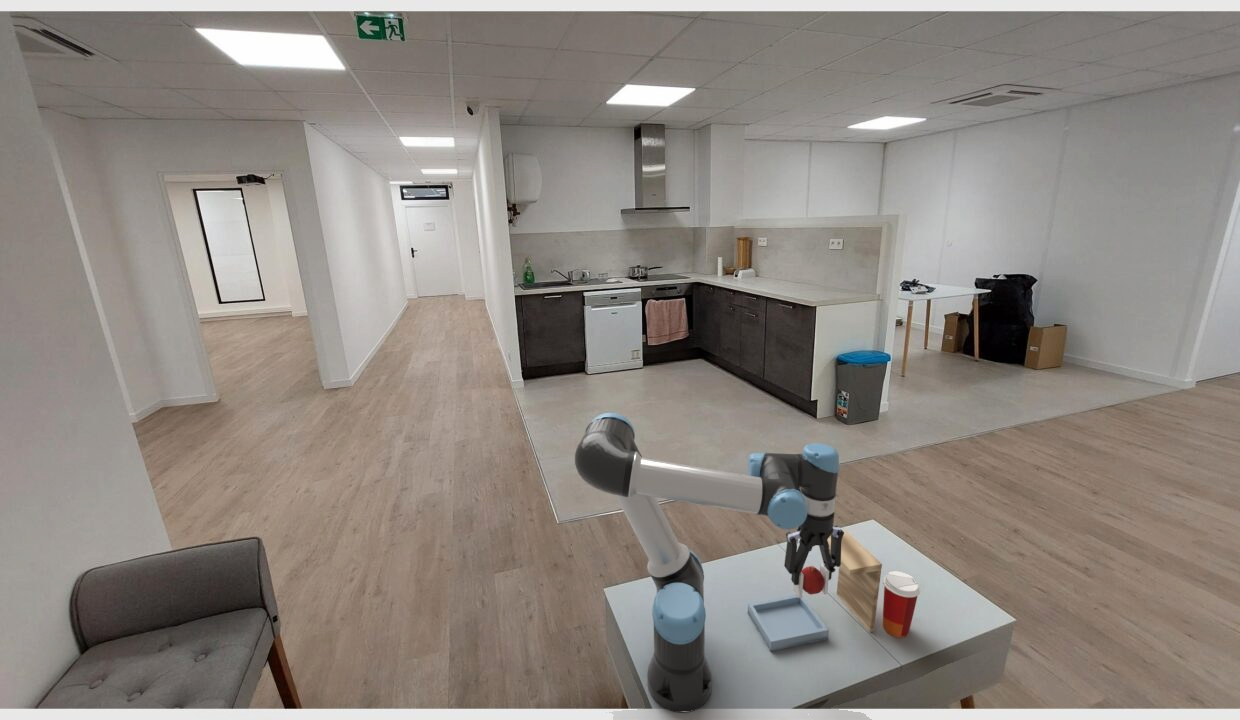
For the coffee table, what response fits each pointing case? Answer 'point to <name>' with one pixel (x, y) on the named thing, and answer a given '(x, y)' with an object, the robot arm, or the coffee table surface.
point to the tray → (787, 622)
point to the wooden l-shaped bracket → (858, 580)
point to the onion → (812, 580)
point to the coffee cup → (899, 603)
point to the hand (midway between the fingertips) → (810, 591)
